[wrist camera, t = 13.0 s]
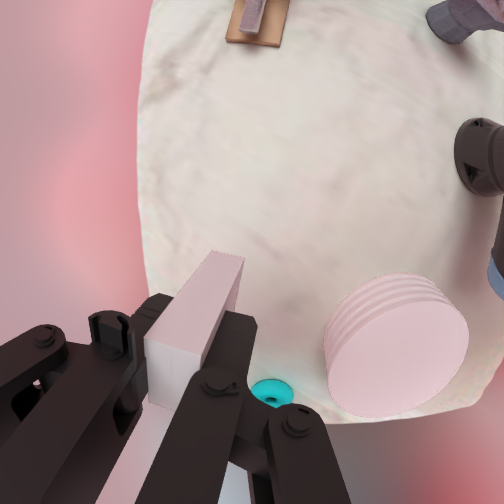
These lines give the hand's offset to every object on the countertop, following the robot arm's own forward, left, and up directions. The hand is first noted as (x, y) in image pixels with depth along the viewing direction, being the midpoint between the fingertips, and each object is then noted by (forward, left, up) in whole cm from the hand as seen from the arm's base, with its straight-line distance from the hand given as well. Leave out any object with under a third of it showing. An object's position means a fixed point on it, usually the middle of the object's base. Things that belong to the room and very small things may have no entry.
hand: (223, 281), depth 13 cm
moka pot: (-26, -43, -35) cm, 61 cm away
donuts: (-10, +44, -35) cm, 57 cm away
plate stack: (-30, +22, -35) cm, 51 cm away
